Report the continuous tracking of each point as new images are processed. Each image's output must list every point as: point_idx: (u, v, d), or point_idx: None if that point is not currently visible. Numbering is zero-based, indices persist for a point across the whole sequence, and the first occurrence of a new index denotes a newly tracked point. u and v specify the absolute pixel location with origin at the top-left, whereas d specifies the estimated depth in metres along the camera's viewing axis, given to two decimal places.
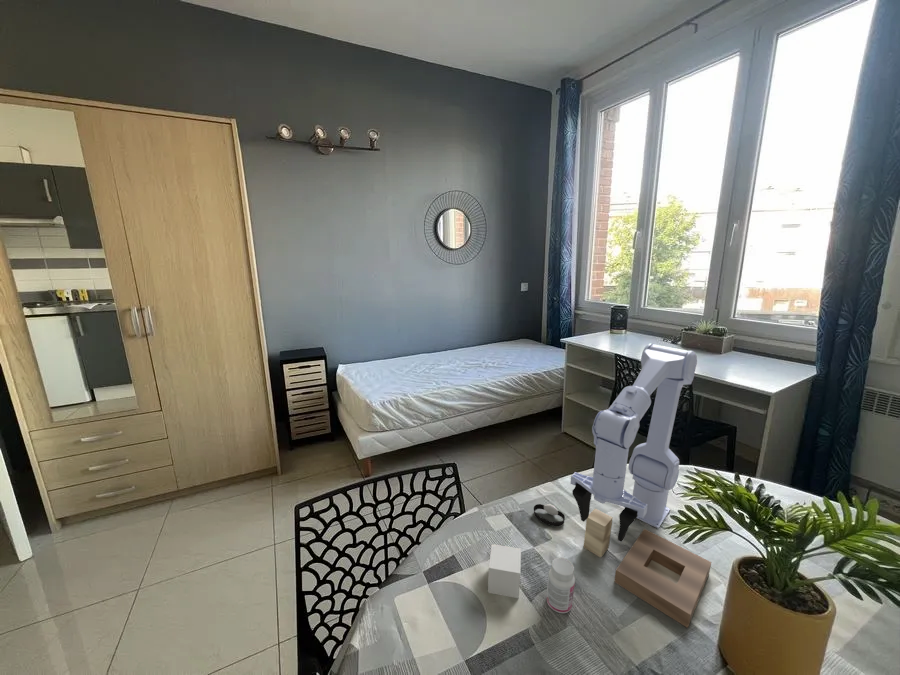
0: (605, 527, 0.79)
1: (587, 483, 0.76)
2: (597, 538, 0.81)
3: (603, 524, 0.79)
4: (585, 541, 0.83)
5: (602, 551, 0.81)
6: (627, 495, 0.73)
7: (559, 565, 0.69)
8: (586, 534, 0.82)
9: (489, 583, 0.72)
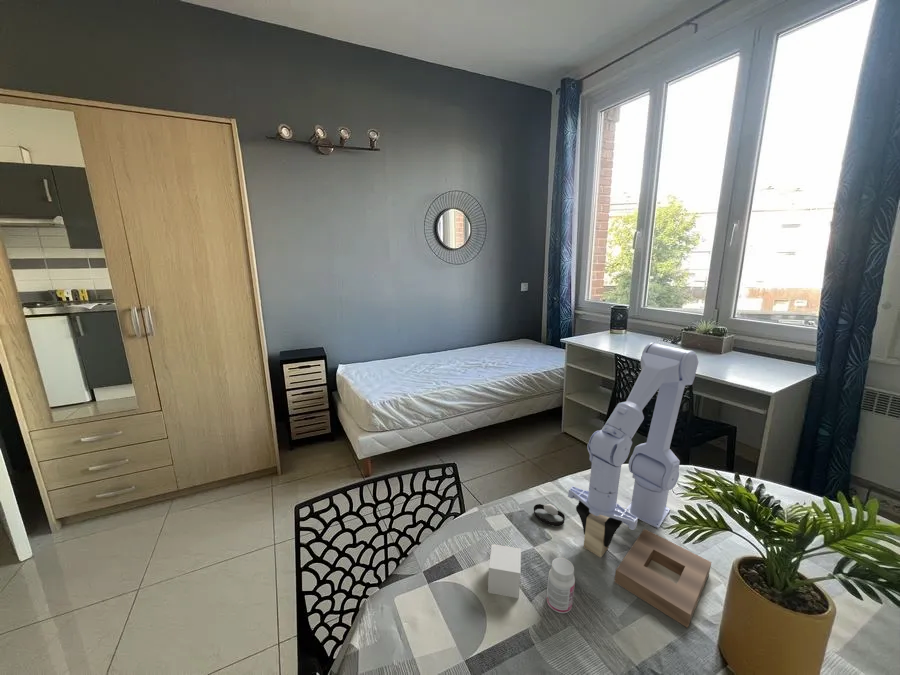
0: None
1: (583, 497, 0.83)
2: (597, 537, 0.81)
3: (603, 524, 0.79)
4: (585, 541, 0.83)
5: (602, 551, 0.81)
6: (619, 508, 0.80)
7: (559, 565, 0.69)
8: (586, 534, 0.82)
9: (489, 583, 0.72)
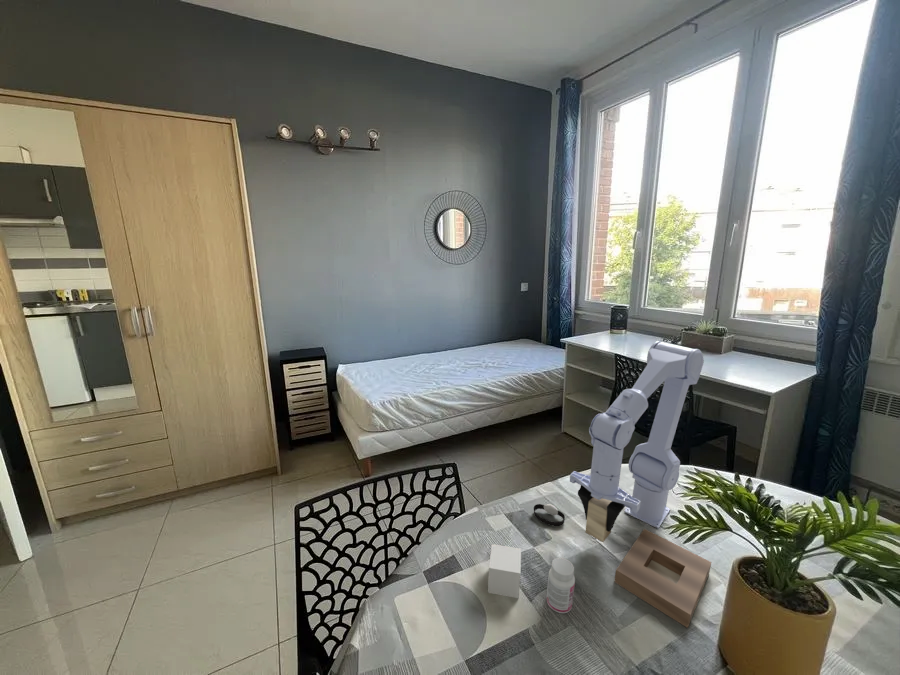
0: None
1: (585, 481, 0.82)
2: (599, 522, 0.80)
3: (605, 508, 0.79)
4: (587, 526, 0.82)
5: (604, 536, 0.80)
6: (622, 492, 0.79)
7: (559, 565, 0.69)
8: (588, 519, 0.81)
9: (489, 583, 0.72)
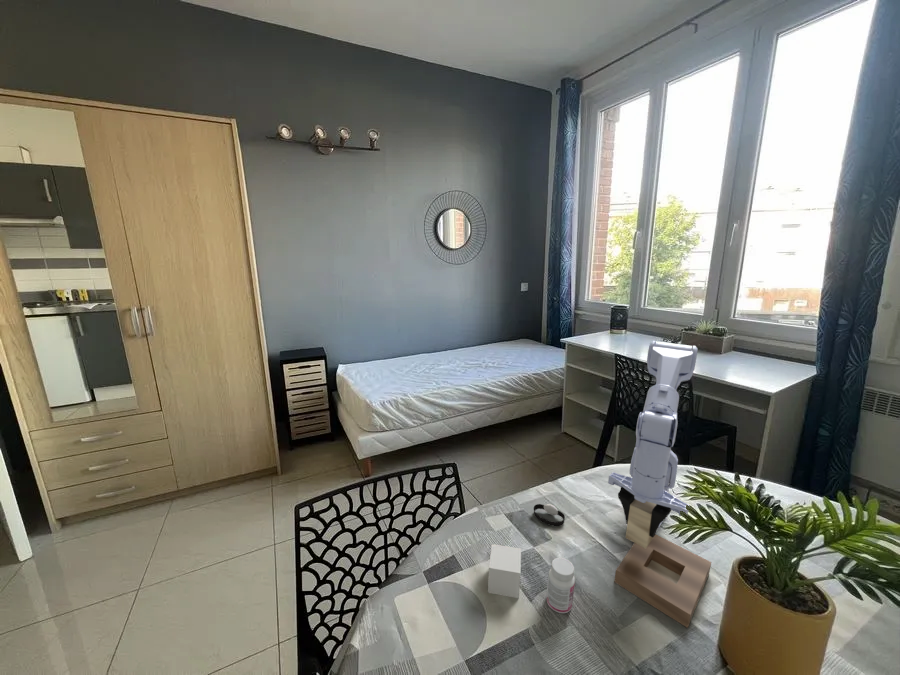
0: (651, 515, 0.73)
1: (626, 483, 0.77)
2: (642, 527, 0.74)
3: (649, 512, 0.73)
4: (627, 531, 0.77)
5: (647, 541, 0.74)
6: (667, 495, 0.73)
7: (559, 565, 0.69)
8: (629, 523, 0.76)
9: (489, 583, 0.72)
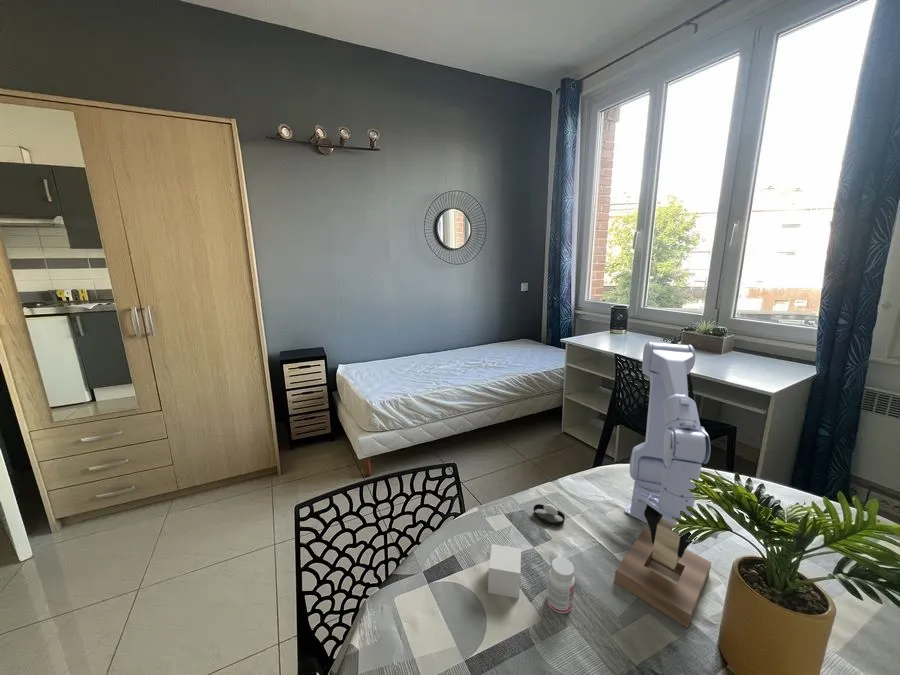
0: None
1: (652, 501, 0.74)
2: (670, 547, 0.72)
3: (678, 532, 0.71)
4: (654, 551, 0.74)
5: (675, 562, 0.72)
6: None
7: (559, 565, 0.69)
8: (656, 543, 0.74)
9: (489, 583, 0.72)
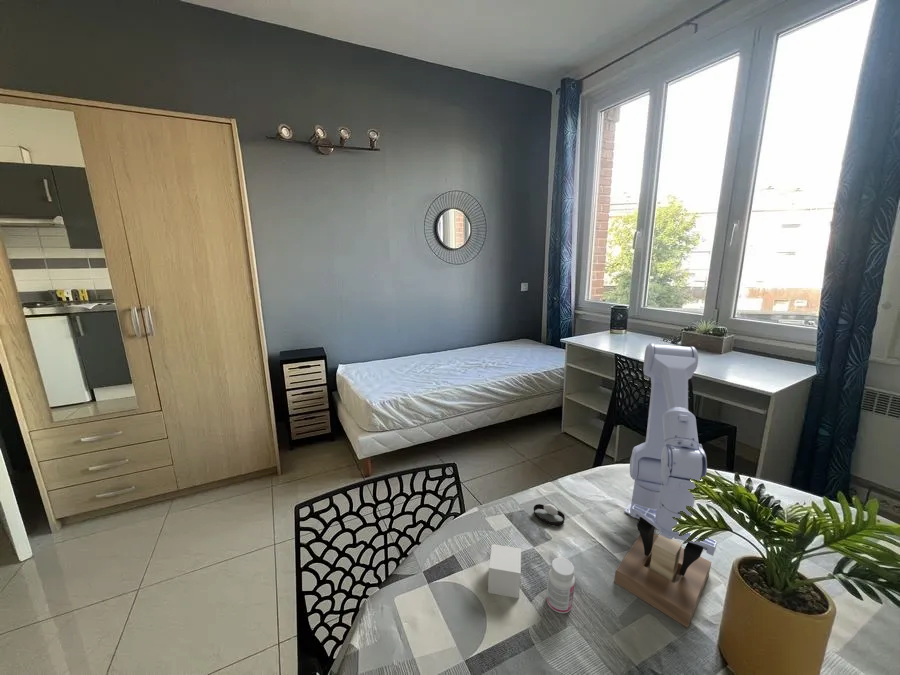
0: (676, 556, 0.72)
1: (649, 516, 0.75)
2: (666, 567, 0.73)
3: (673, 552, 0.72)
4: None
5: None
6: None
7: (559, 565, 0.69)
8: (652, 562, 0.75)
9: (489, 583, 0.72)
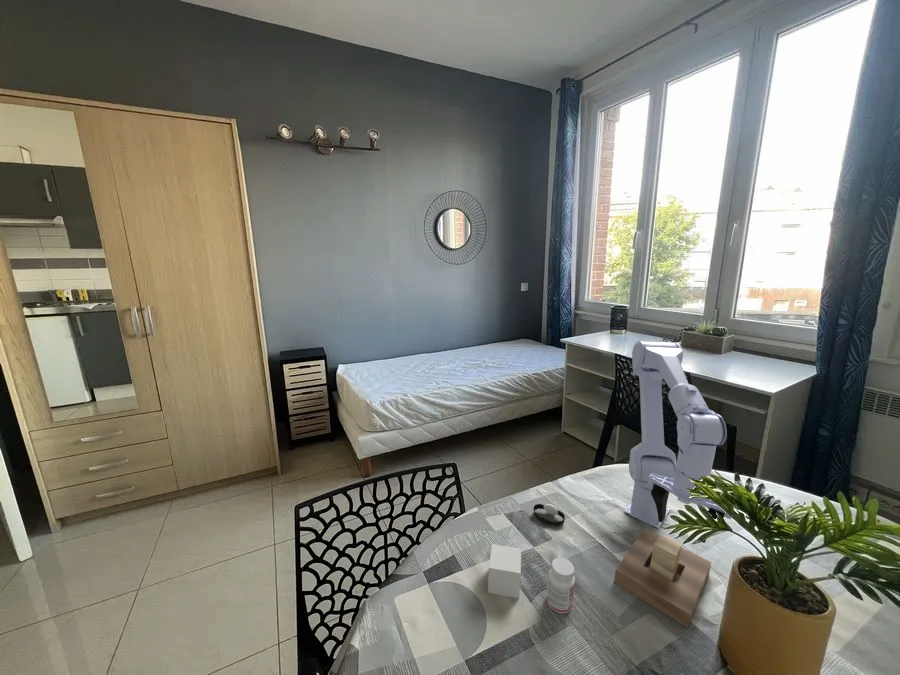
0: (676, 556, 0.72)
1: (666, 484, 0.77)
2: (666, 567, 0.73)
3: (674, 553, 0.72)
4: None
5: None
6: None
7: (559, 565, 0.69)
8: (652, 563, 0.75)
9: (489, 583, 0.72)
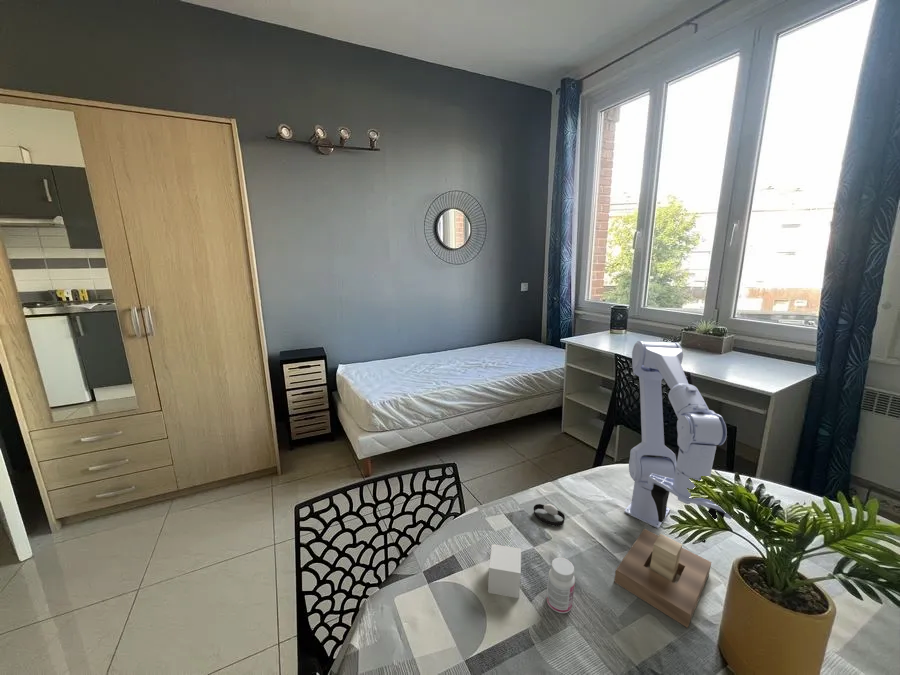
0: (676, 556, 0.72)
1: (667, 484, 0.77)
2: (666, 567, 0.73)
3: (674, 553, 0.72)
4: None
5: None
6: None
7: (559, 565, 0.69)
8: (652, 563, 0.75)
9: (489, 583, 0.72)
